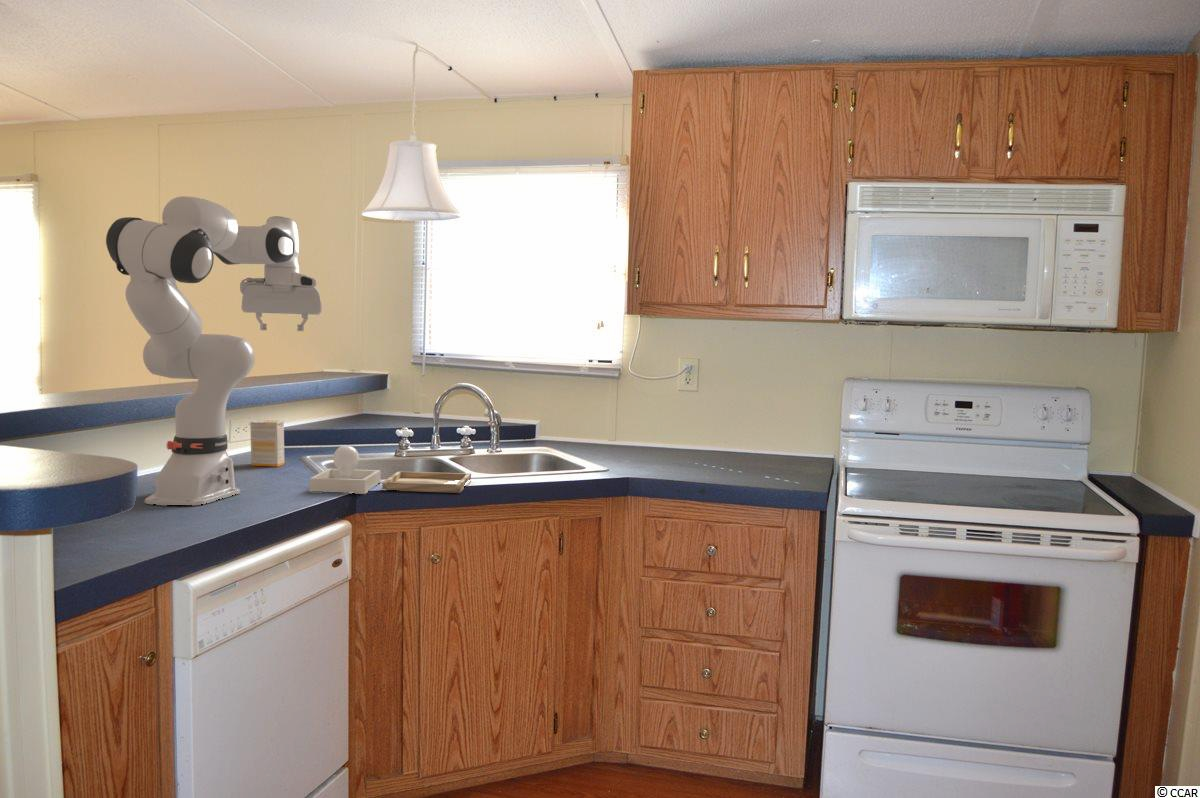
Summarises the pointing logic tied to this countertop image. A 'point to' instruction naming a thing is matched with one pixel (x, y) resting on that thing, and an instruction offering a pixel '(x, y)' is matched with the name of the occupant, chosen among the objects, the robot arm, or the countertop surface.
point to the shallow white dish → (345, 481)
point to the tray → (426, 482)
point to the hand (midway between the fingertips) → (282, 330)
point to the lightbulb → (346, 460)
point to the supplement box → (267, 443)
